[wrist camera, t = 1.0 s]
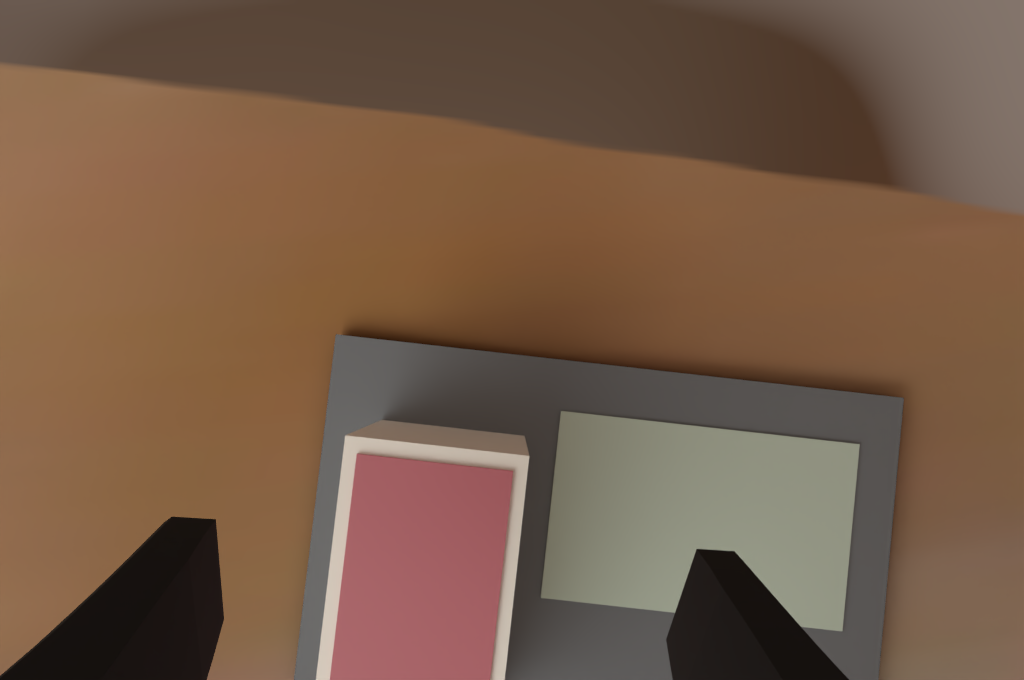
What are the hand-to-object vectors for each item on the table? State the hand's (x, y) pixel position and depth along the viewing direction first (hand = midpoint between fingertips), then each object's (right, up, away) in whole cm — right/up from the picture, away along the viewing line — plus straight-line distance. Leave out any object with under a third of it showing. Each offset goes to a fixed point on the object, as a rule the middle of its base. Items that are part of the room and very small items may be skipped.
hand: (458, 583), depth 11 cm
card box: (-1, -3, +11) cm, 12 cm away
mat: (+4, -3, +12) cm, 12 cm away
